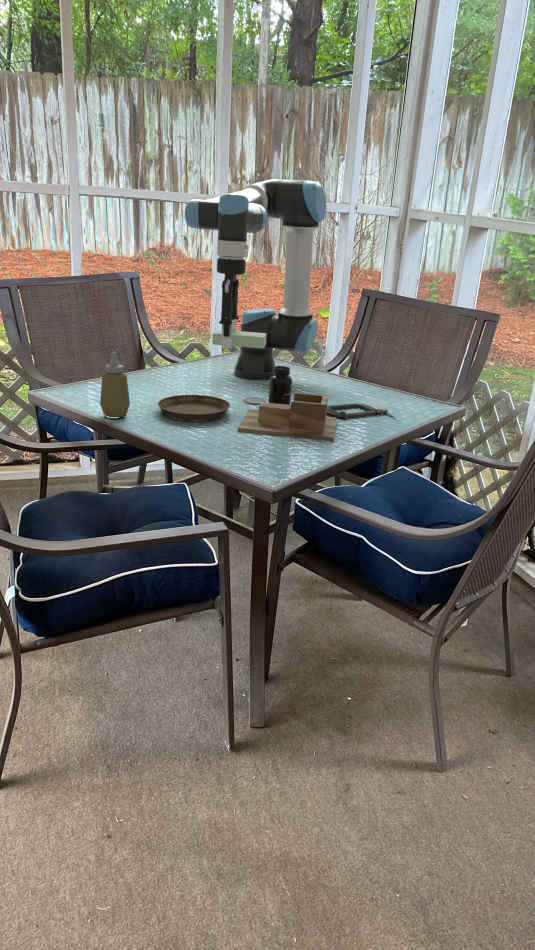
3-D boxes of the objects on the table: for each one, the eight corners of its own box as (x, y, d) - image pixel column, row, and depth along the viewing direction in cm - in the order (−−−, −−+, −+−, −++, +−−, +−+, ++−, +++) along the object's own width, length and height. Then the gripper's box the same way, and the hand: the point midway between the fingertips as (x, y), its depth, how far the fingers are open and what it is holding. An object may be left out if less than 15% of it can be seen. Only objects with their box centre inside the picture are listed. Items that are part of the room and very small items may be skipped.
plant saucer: (152, 405, 198) (152, 394, 197) (219, 402, 205) (220, 392, 204) (164, 426, 180) (164, 415, 179) (238, 423, 187) (238, 412, 186)
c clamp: (370, 405, 213) (371, 397, 212) (400, 422, 198) (401, 413, 197) (314, 409, 205) (314, 400, 204) (340, 426, 191) (341, 417, 190)
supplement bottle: (288, 410, 201) (291, 371, 197) (266, 407, 202) (268, 368, 198) (291, 404, 207) (294, 366, 203) (270, 401, 208) (273, 363, 204)
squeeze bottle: (117, 422, 180) (115, 357, 173) (94, 416, 184) (91, 352, 177) (136, 415, 187) (135, 352, 180) (114, 410, 190) (112, 347, 184)
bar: (216, 340, 185) (216, 329, 184) (265, 344, 184) (266, 333, 183) (212, 344, 180) (212, 333, 179) (263, 348, 179) (264, 337, 178)
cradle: (248, 412, 196) (249, 384, 193) (336, 421, 194) (339, 392, 191) (237, 431, 180) (239, 400, 177) (333, 440, 177) (336, 410, 174)
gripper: (240, 261, 165) (236, 354, 174) (250, 256, 182) (246, 340, 191) (210, 259, 165) (208, 351, 174) (223, 254, 183) (220, 338, 192)
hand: (228, 345), depth 183 cm, fingers closed on bar, 6 cm apart
